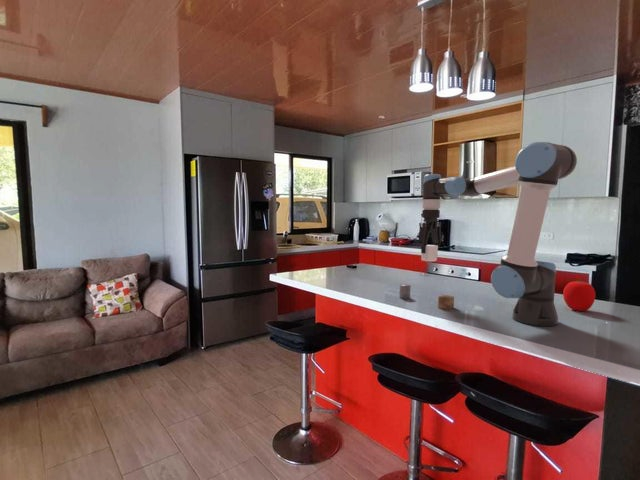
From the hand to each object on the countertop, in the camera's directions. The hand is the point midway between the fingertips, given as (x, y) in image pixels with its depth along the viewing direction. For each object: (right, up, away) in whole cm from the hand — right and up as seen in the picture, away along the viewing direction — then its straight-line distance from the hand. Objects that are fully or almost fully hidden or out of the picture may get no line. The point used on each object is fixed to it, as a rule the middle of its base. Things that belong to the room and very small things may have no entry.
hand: (429, 259), depth 170 cm
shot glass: (0, -1, 0) cm, 1 cm away
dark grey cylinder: (-10, -18, +7) cm, 22 cm away
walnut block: (+4, -20, -10) cm, 23 cm away
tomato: (+59, -21, -12) cm, 64 cm away
